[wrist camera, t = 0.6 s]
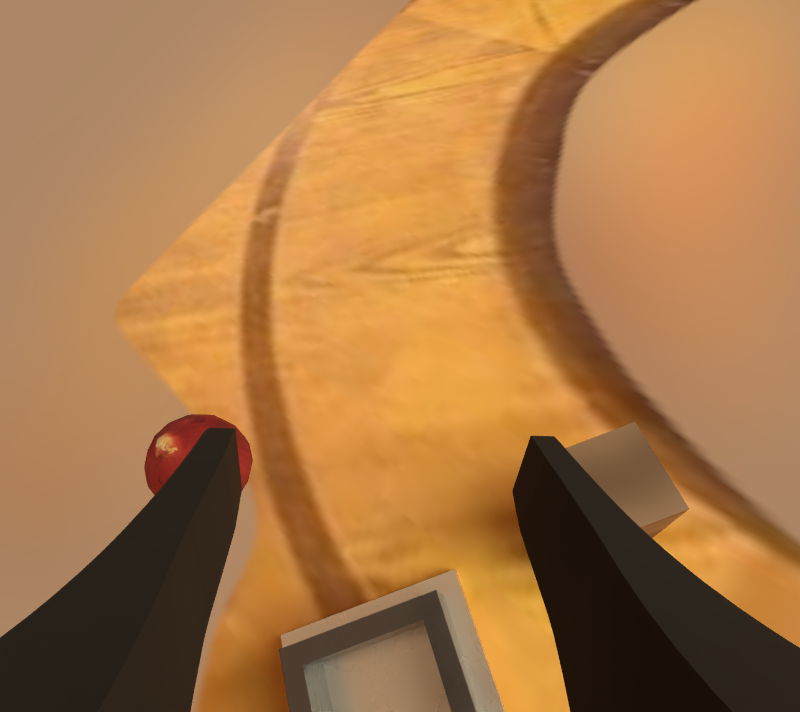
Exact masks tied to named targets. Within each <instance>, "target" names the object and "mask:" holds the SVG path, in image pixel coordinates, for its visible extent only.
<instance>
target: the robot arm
mask: <svg viewBox="0 0 800 712" xmlns="http://www.w3.org/2000/svg"><path fill="white" fill-rule="evenodd" d="M241 490H242V483H241V474H240V465H239V456H238V446H237V437H236V428H208V429H207V430H205V431H204V432H203V434H202V435H201V437H200V438H199V440H198V441H197V442H196V444H195V445H194V446H193V448H192V449H191V451H190V452H189V453H188V455H187V456H186V457H185V459H184V460H183V461H182V462H181V464H180V465H179V466H178V468H177V469H176V470H175V471H174V473H173V474H172V475H171V476H170V478H169V479H168V480H167V481H166V482H165V484H164V485H163V486H162V487H161V488H160V490H159V491H158V492H157V493H156V494H155V496H154V497H153V498H152V499H151V500H150V501H149V503H148V504H147V505H146V506H145V507H144V508H143V509H142V510H141V512H140V513H139V514H138V515H137V516H136V517H135V518H134V519H133V520H132V522H130V524H129V525H128V526H127V527H126V528H125V529H124V530H123V531H122V532H121V533H120V534H119V535H118V536H117V537H116V538H115V539H114V540H113V541H112V542H111V543H110V544H109V545H108V546H107V547H106V548H105V549H104V550H103V551H102V552H101V553H100V554H99V555H98V556H97V557H96V558H95V559H94V560H93V561H92V562H90V563H89V564H88V565H87V566H86V567H85V568H84V569H83V570H82V571H81V572H80V573H79V574H78V575H76V576H75V577H74V578H73V579H72V580H71V581H69V582H68V583H67V584H66V585H65V586H64V587H63V588H61V589H60V591H58V592H57V593H56V594H55V595H53V596H52V597H51V598H50V599H49V600H48V601H46V602H45V603H44V604H43V605H41V606H40V607H39V608H38V609H37V610H36V611H34V612H33V613H32V614H31V615H29V616H28V617H27V618H25V619H24V620H23V621H21V622H20V623H19V624H17V625H16V626H15V627H14V628H12V629H11V630H10V631H8V632H7V633H6V634H4V635H3V636H2V637H1V638H0V712H190V711H191V705H192V699H193V694H194V688H195V683H196V678H197V673H198V667H199V662H200V657H201V652H202V646H203V641H204V637H205V633H206V629H207V625H208V621H209V617H210V613H211V610H212V607H213V603H214V600H215V597H216V593H217V589H218V586H219V583H220V579H221V576H222V573H223V569H224V566H225V562H226V558H227V555H228V552H229V548H230V545H231V541H232V538H233V534H234V530H235V526H236V520H237V515H238V509H239V503H240V496H241ZM513 496H514V502H515V507H516V513H517V517H518V522H519V527H520V531H521V534H522V537H523V541H524V544H525V547H526V550H527V553H528V556H529V559H530V562H531V565H532V568H533V571H534V574H535V577H536V580H537V583H538V586H539V589H540V592H541V595H542V598H543V601H544V604H545V607H546V610H547V613H548V616H549V620H550V623H551V627H552V630H553V634H554V638H555V642H556V647H557V651H558V655H559V660H560V664H561V669H562V673H563V678H564V682H565V687H566V692H567V697H568V702H569V707H570V712H800V648H799V647H797V646H796V645H794V644H793V643H791V642H789V641H788V640H786V639H785V638H783V637H782V636H780V635H779V634H777V633H776V632H774V631H773V630H771V629H769V628H768V627H766V626H765V625H763V624H762V623H760V622H759V621H757V620H756V619H754V618H753V617H751V616H750V615H749V614H747V613H746V612H744V611H743V610H741V609H740V608H738V607H737V606H736V605H734V604H733V603H732V602H730V601H729V600H727V599H726V598H725V597H723V596H722V595H721V594H719V593H718V592H717V591H715V590H714V589H713V588H711V587H710V586H709V585H707V584H706V583H705V582H703V581H702V580H701V579H700V578H698V577H697V576H696V575H694V574H693V573H692V572H691V571H689V570H688V569H687V568H686V567H685V566H683V565H682V564H681V563H680V562H679V561H677V560H676V559H675V558H674V557H673V556H672V555H670V554H669V553H668V552H667V551H666V550H664V549H663V548H662V547H661V546H660V545H659V544H658V543H657V542H655V541H654V540H653V539H652V538H651V537H650V536H649V535H648V534H647V533H646V532H645V531H644V530H643V529H641V528H640V527H639V526H638V525H637V524H636V523H635V522H634V521H633V520H632V519H631V518H630V517H629V516H628V515H627V514H626V513H625V512H624V511H623V510H622V509H621V508H620V507H619V506H618V505H617V504H616V503H615V502H614V501H613V500H612V499H611V498H610V497H609V496H608V495H607V494H606V493H605V492H604V490H603V489H602V488H601V487H600V486H599V485H598V484H597V483H596V482H595V481H594V480H593V479H592V478H591V476H590V475H589V474H588V473H587V472H586V471H585V470H584V469H583V468H582V467H581V465H580V464H579V463H578V462H577V461H576V460H575V459H574V458H573V457H572V455H571V454H570V453H569V452H568V451H567V450H566V449H565V448H564V447H563V445H562V444H561V443H560V442H559V441H558V440H557V439H556V438H555V437H554V436H531V437H530V440H529V443H528V446H527V449H526V452H525V455H524V458H523V461H522V464H521V467H520V470H519V473H518V476H517V479H516V482H515V485H514V488H513Z"/></svg>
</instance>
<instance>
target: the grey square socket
mask: <svg viewBox="0 0 800 712" xmlns="http://www.w3.org/2000/svg"><path fill="white" fill-rule="evenodd" d="M280 636H281V642H282V648H281V649H279V651H280V657H281V663H282V669H283V675H284V681H285V687H286V693H287V699H288V706H289V712H506V711H505V708H504V705H503V702H502V700H501V697H500V694H499V691H498V688H497V685H496V683H495V680H494V677H493V674H492V671H491V668H490V666H489V663H488V660H487V657H486V654H485V651H484V649H483V646H482V643H481V640H480V637H479V634H478V632H477V629H476V626H475V623H474V620H473V617H472V615H471V612H470V609H469V606H468V603H467V600H466V598H465V595H464V592H463V589H462V586H461V583H460V581H459V578H458V575H457V572H456V570H455V569H454V570H451V571H448V572H446V573H443V574H441V575H438V576H435V577H433V578H430V579H427V580H425V581H422V582H419V583H417V584H414V585H411V586H409V587H406V588H404V589H401V590H398V591H396V592H393V593H390V594H388V595H385V596H382V597H380V598H377V599H375V600H372V601H369V602H367V603H364V604H361V605H359V606H356V607H353V608H351V609H348V610H345V611H343V612H340V613H338V614H335V615H332V616H330V617H327V618H324V619H322V620H319V621H316V622H314V623H311V624H309V625H306V626H303V627H301V628H298V629H295V630H293V631H290V632H287V633H285V634H282V635H280Z"/></svg>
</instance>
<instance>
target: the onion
mask: <svg viewBox="0 0 800 712" xmlns="http://www.w3.org/2000/svg"><path fill="white" fill-rule="evenodd" d="M208 428H236V437H237V446H238V456H239V465H240V474H241V483H242V490H243V488H244V487H245V485H246V483H247V482H248V479H249V474H250V470H251V466H252V461H253V459H252V454H251V450H250V446H249V443H248V441H247V440H246V438H245V437H244V436H243V434H242V433H241V432H240V431H239V430H238V429H237V427H236V426H235V425H233V424H231V423H229V422H227V421H225V420H223V419H221V418H219V417H217V416H215V415H187V416H185V417H182V418H180V419H177V420H175V421H172V422H170V423H168V424H167V425H166V426H165V427H164V428H163V429H162V430H161V431H160V432H159V433H157V434H156V435H155V436H154V439H153V441H152V443H151V445H150V447H149V449H148V452H147V457H146V461H145V474H146V479H147V484H148V487H149V488H150V490H151V491H152V492H153V494H154V495H155V494H156V493H157V492H158V491H159V490H160V488H161V487H162V486H163V485H164V484H165V482H166V481H167V480H168V479H169V478H170V476H171V475H172V474H173V473H174V471H175V470H176V469H177V468H178V466H179V465H180V464H181V462H182V461H183V460H184V459H185V457H186V456H187V455H188V453H189V452H190V451H191V449H192V448H193V446H194V445H195V444H196V442H197V441H198V440H199V438H200V437H201V435H202V434H203V432H204V431H205V430H207V429H208ZM242 490H241V492H242Z"/></svg>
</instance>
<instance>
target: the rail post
mask: <svg viewBox="0 0 800 712" xmlns="http://www.w3.org/2000/svg"><path fill="white" fill-rule="evenodd" d="M565 449H566V450H567V451H568V452H569V453H570V454H571V455H572V457H573V458H574V459H575V460H576V461H577V462H578V463H579V464H580V465H581V467H582V468H583V469H584V470H585V471H586V472H587V473H588V474H589V475H590V476H591V478H592V479H593V480H594V481H595V482H596V483H597V484H598V485H599V486H600V487H601V488H602V489H603V490H604V492H605V493H606V494H607V495H608V496H609V497H610V498H611V499H612V500H613V501H614V502H615V503H616V504H617V505H618V506H619V507H620V508H621V509H622V510H623V511H624V512H625V513H626V514H627V515H628V516H629V517H630V518H631V519H632V520H633V521H634V522H635V523H636V524H637V525H638V526H639V527H640V528H641V529H643V530H644V531H645V532H646V533H647V534H648V535H649V536H650V537H651V538H653V537H654V536H656V535H657V534H658V533H659V532H661V531H662V530H663V529H664V528H666V527H667V526H668V525H669V524H671V523H672V522H673V521H674V520H676V519H677V518H678V517H679V516H681V515H682V514H683V513H685V512H686V511H687V510H688V509H689V508H688V506H687V505H686V503H685V501H684V500H683V498H682V496H681V495H680V493H679V492H678V490H677V488H676V487H675V485H674V484H673V482H672V480H671V479H670V477H669V476H668V474H667V472H666V471H665V469H664V468H663V466H662V464H661V463H660V461H659V459H658V458H657V456H656V455H655V453H654V451H653V450H652V448H651V447H650V445H649V443H648V442H647V440H646V439H645V437H644V435H643V434H642V432H641V430H640V429H639V427H638V426H637V424H636V422H634V423H631V424H628V425H626V426H623V427H620V428H618V429H615V430H613V431H610V432H607V433H605V434H602V435H599V436H597V437H594V438H591V439H589V440H586V441H584V442H581V443H578V444H576V445H573V446H570V447H568V448H565Z"/></svg>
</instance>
